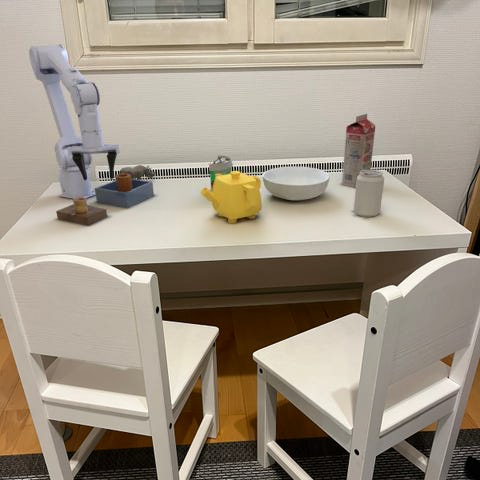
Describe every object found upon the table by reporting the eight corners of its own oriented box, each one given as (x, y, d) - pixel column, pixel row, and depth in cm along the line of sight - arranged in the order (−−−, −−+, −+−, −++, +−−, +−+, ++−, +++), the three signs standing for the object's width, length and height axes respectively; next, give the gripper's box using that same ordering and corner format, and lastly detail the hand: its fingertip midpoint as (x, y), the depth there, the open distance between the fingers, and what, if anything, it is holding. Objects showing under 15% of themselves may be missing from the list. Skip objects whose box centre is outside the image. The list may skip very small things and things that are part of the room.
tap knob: (72, 212, 145) (69, 199, 143) (81, 208, 148) (79, 195, 146) (81, 213, 144) (79, 200, 142) (90, 210, 146) (88, 197, 144)
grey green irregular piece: (229, 196, 163) (227, 164, 157) (210, 195, 164) (208, 164, 159) (236, 185, 173) (236, 155, 168) (219, 184, 174) (218, 155, 169)
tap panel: (55, 220, 147) (53, 211, 146) (77, 211, 154) (75, 202, 152) (86, 226, 142) (84, 217, 141) (107, 216, 148) (106, 208, 147)
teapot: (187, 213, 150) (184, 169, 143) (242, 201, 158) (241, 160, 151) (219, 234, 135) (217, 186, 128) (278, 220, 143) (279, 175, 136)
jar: (115, 198, 162) (112, 176, 158) (125, 194, 165) (122, 172, 161) (126, 200, 160) (123, 178, 156) (136, 196, 163) (133, 174, 159)
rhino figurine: (159, 181, 179) (157, 164, 176) (121, 187, 174) (119, 169, 171) (155, 178, 183) (153, 161, 179) (118, 184, 177) (115, 167, 174)
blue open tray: (97, 202, 160) (94, 188, 158) (124, 191, 170) (122, 177, 168) (127, 208, 155) (125, 193, 153) (154, 195, 165) (152, 181, 163)
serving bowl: (281, 211, 149) (282, 188, 146) (251, 192, 166) (251, 171, 162) (341, 200, 156) (343, 178, 153) (306, 183, 173) (307, 163, 169)
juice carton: (341, 184, 171) (347, 115, 160) (351, 180, 175) (358, 112, 164) (359, 188, 167) (366, 117, 156) (369, 183, 172) (376, 114, 160)
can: (348, 211, 148) (352, 170, 142) (369, 207, 150) (374, 167, 144) (363, 219, 142) (367, 176, 136) (385, 215, 144) (390, 173, 138)
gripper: (61, 134, 138) (71, 183, 145) (115, 132, 139) (122, 181, 146) (66, 129, 144) (75, 177, 151) (118, 127, 145) (124, 174, 152)
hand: (98, 178), depth 149 cm, fingers open, 7 cm apart
